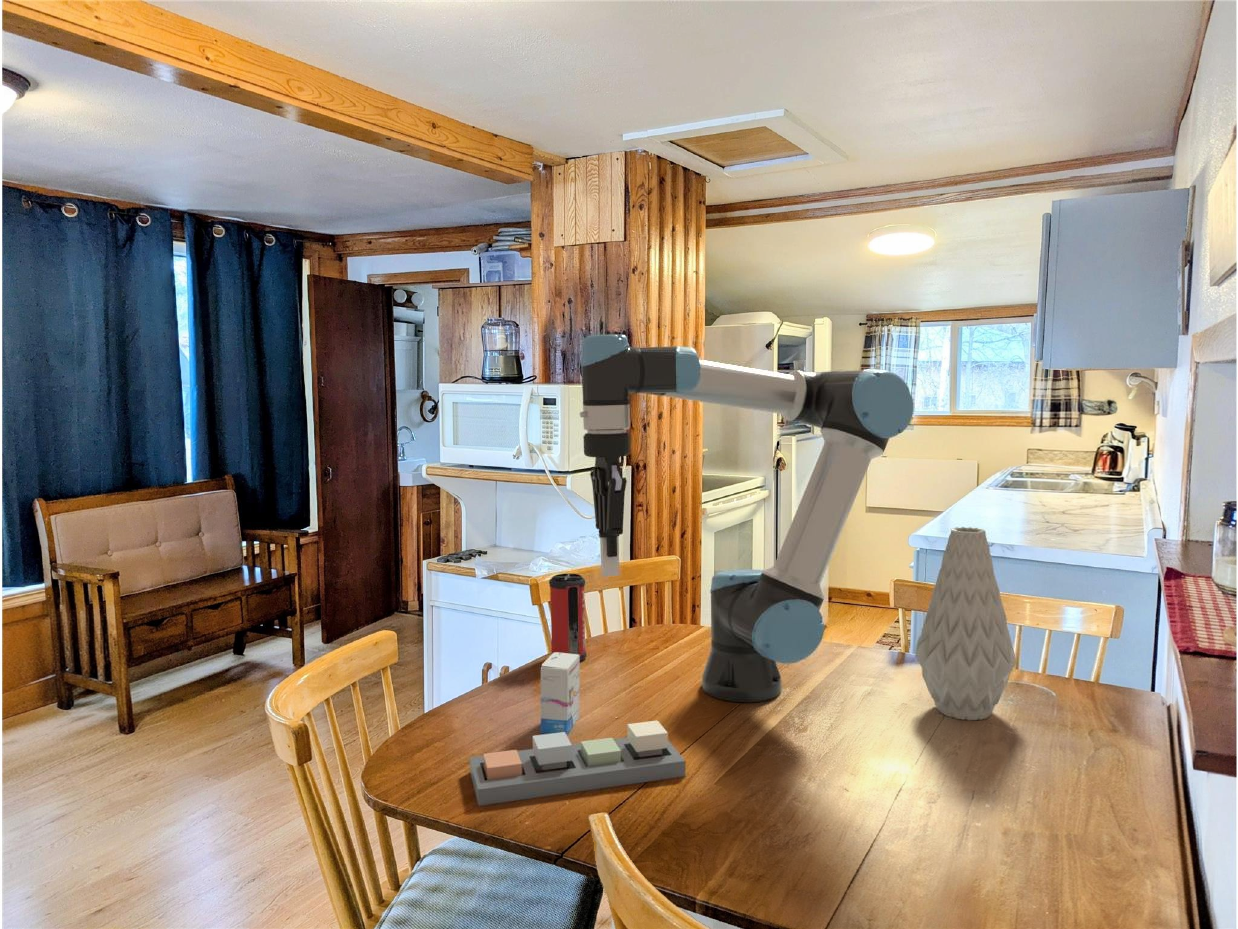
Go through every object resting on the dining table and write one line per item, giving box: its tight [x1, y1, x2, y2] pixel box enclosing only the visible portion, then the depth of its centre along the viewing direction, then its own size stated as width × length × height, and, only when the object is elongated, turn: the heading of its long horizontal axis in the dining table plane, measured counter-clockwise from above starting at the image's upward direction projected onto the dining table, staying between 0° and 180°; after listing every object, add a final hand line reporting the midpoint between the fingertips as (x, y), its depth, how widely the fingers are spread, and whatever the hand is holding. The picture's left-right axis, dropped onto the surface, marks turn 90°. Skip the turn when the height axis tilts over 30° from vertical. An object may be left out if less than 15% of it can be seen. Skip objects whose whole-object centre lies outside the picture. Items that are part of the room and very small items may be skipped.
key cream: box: [626, 720, 669, 758], centre depth 133 cm, size 5×5×4 cm
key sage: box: [580, 737, 621, 767], centre depth 132 cm, size 5×5×4 cm
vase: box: [914, 526, 1018, 721], centre depth 152 cm, size 17×17×33 cm
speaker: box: [548, 572, 587, 662], centre depth 184 cm, size 8×8×18 cm
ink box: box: [540, 652, 580, 736], centre depth 149 cm, size 9×5×12 cm, turn 168°
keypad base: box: [469, 736, 686, 807], centre depth 131 cm, size 31×11×2 cm, turn 106°
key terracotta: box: [482, 749, 522, 780], centre depth 128 cm, size 5×5×4 cm
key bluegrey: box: [532, 732, 573, 771], centre depth 129 cm, size 5×5×4 cm
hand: (610, 574), depth 141 cm, fingers closed
